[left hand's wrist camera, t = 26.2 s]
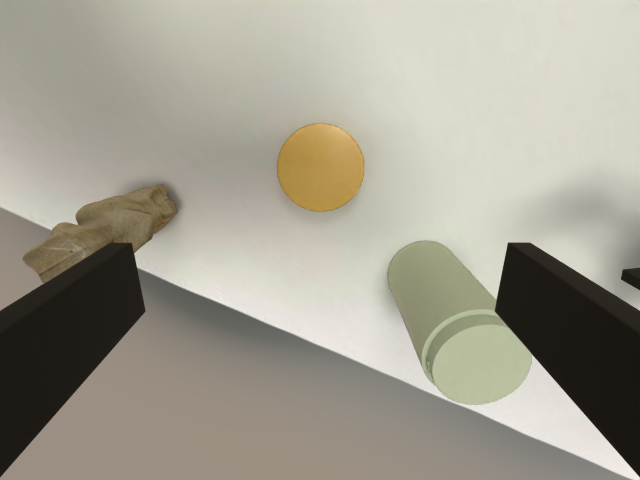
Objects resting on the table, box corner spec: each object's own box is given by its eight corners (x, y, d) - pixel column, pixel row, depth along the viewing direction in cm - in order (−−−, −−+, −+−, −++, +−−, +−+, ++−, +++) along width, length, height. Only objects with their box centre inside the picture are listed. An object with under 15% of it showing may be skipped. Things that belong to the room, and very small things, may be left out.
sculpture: (111, 196, 40) (-5, 243, 25) (165, 171, 39) (77, 205, 24) (140, 241, 41) (47, 307, 27) (192, 217, 40) (124, 274, 26)
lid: (357, 116, 37) (358, 116, 35) (366, 200, 40) (368, 204, 38) (271, 131, 37) (269, 131, 36) (287, 213, 40) (286, 217, 39)
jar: (401, 313, 45) (446, 422, 29) (377, 257, 42) (411, 344, 27) (466, 288, 44) (548, 387, 28) (444, 229, 41) (522, 302, 25)
